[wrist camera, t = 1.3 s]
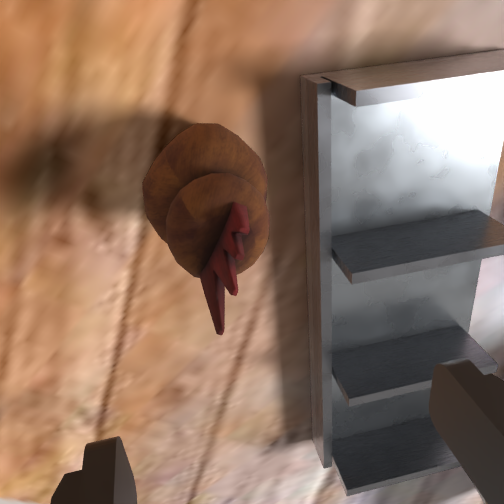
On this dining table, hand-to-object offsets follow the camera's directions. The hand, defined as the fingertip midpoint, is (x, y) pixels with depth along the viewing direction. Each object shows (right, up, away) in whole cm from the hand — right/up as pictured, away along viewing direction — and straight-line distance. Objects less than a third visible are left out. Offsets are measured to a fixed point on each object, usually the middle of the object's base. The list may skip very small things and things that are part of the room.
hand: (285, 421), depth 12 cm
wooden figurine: (-4, +10, +18) cm, 21 cm away
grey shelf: (+10, +2, +26) cm, 28 cm away
